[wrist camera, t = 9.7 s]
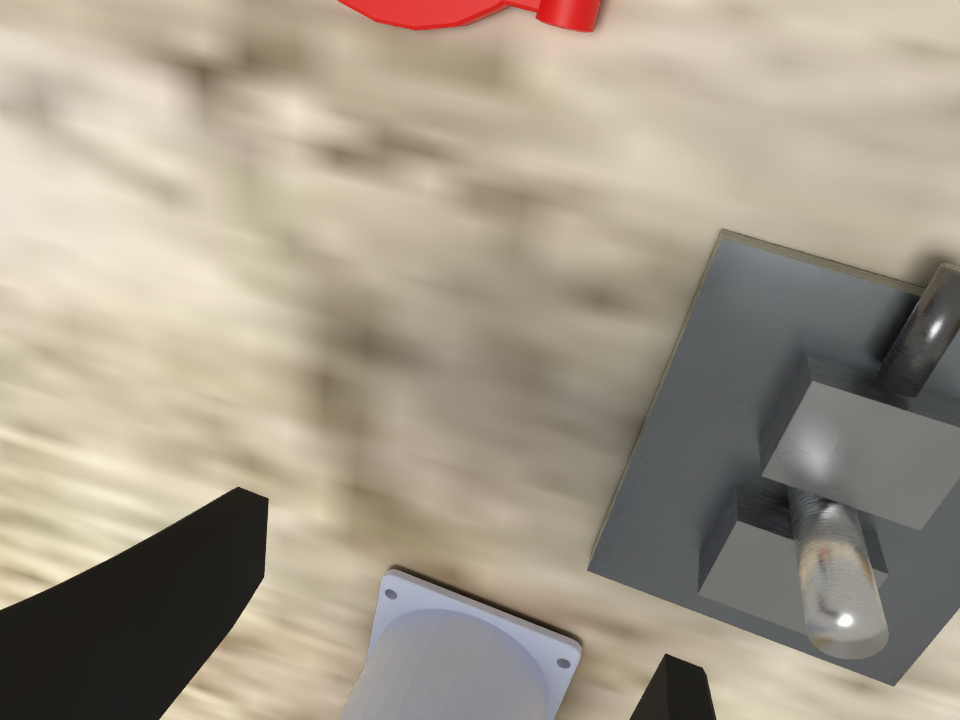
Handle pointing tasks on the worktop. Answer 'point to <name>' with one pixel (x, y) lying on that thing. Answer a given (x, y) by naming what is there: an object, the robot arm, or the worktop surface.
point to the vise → (802, 460)
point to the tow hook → (475, 12)
